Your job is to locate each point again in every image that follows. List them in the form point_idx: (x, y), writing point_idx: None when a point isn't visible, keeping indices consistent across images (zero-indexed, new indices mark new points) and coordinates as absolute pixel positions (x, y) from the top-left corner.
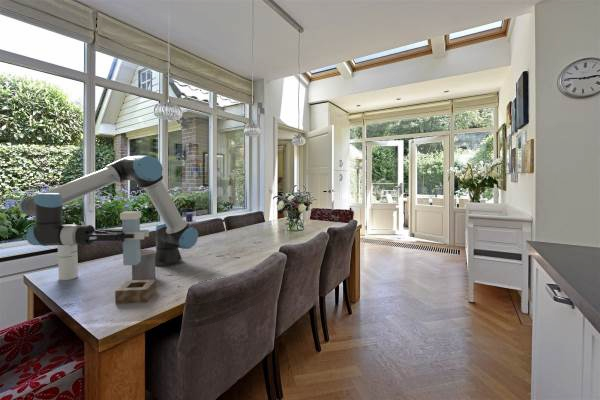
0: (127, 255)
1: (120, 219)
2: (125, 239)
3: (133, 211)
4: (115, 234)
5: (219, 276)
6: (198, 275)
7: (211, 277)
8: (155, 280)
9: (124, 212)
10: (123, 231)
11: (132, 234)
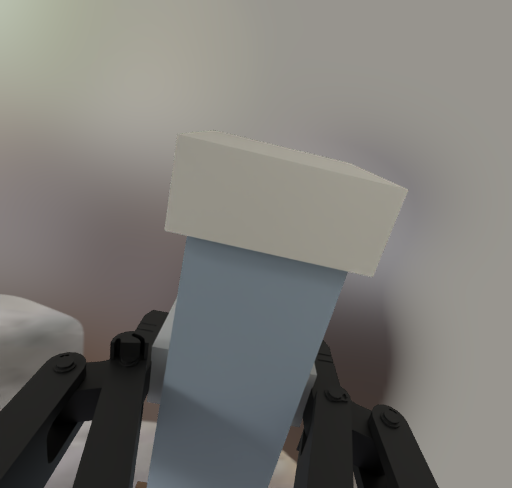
0: None
1: (372, 274)
2: (299, 424)
3: (234, 138)
4: (417, 445)
5: (78, 327)
6: (12, 372)
7: (71, 344)
8: (144, 484)
9: (328, 167)
10: (303, 382)
11: (321, 343)
